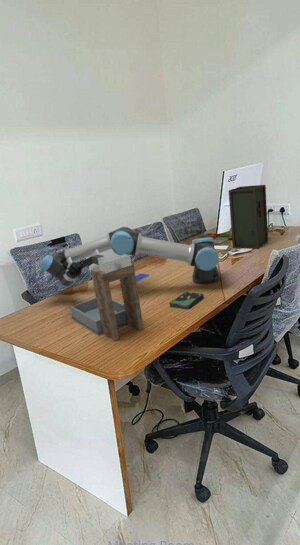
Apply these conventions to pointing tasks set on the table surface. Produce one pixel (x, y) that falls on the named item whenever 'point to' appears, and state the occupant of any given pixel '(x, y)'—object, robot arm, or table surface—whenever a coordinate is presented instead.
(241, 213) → the first aid box
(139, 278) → the hard drive
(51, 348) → the table surface
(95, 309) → the tray
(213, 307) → the table surface
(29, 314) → the table surface
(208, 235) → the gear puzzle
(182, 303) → the disk drive
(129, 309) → the bridge
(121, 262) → the t handle
